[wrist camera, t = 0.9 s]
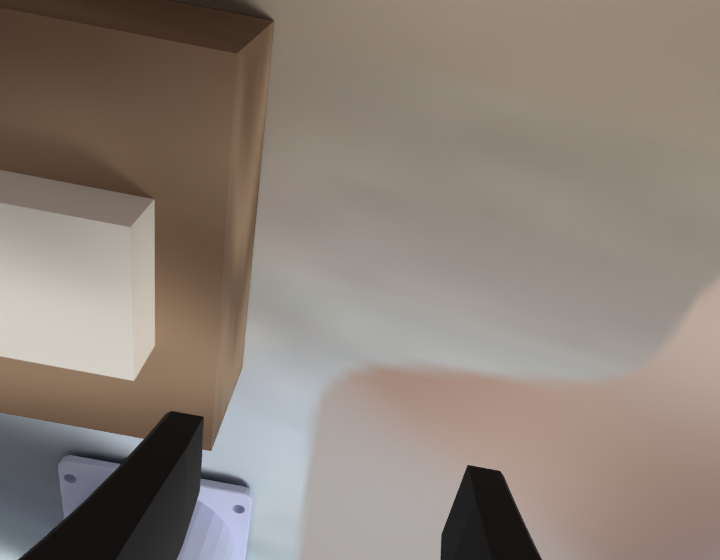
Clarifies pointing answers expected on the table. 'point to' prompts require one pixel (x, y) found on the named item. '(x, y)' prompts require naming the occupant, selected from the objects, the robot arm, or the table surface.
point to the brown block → (145, 184)
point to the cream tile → (76, 276)
